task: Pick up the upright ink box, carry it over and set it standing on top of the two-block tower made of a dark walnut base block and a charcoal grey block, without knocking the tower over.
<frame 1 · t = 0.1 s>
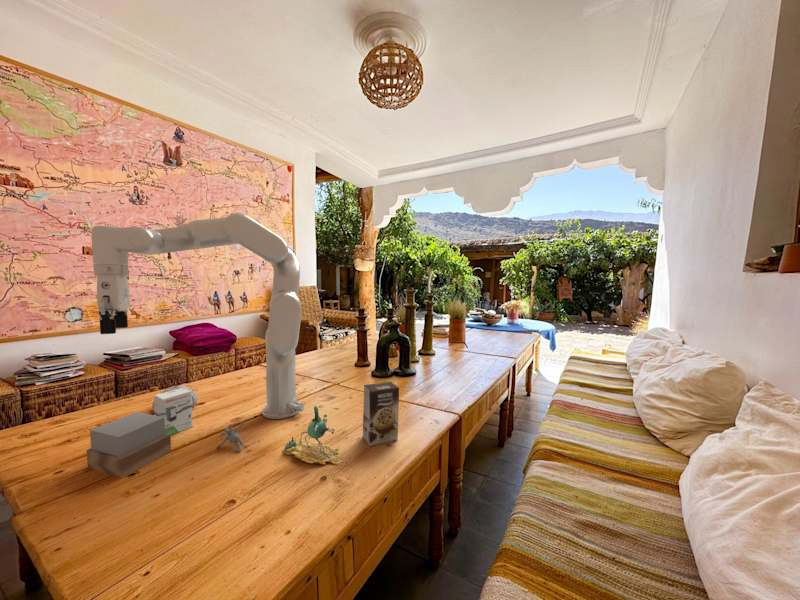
hand: (114, 330, 95), 31 cm above the table, fingers open, 9 cm apart
tower top: (129, 442, 85), point 5 cm above the table, touching tower bottom
coffee box: (380, 439, 98), on the table
elephant figurine: (235, 446, 93), on the table
tower bottom: (131, 460, 85), on the table, touching tower top
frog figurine: (313, 456, 89), on the table
ink box: (174, 431, 100), on the table
sea urchin shell: (176, 409, 116), on the table
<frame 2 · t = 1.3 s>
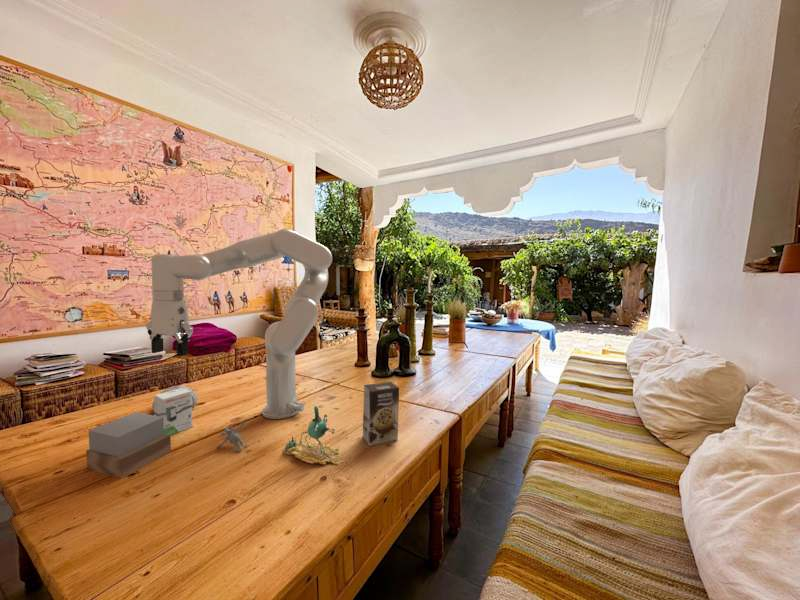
hand: (169, 353, 98), 24 cm above the table, fingers open, 9 cm apart
nothing on the table moved.
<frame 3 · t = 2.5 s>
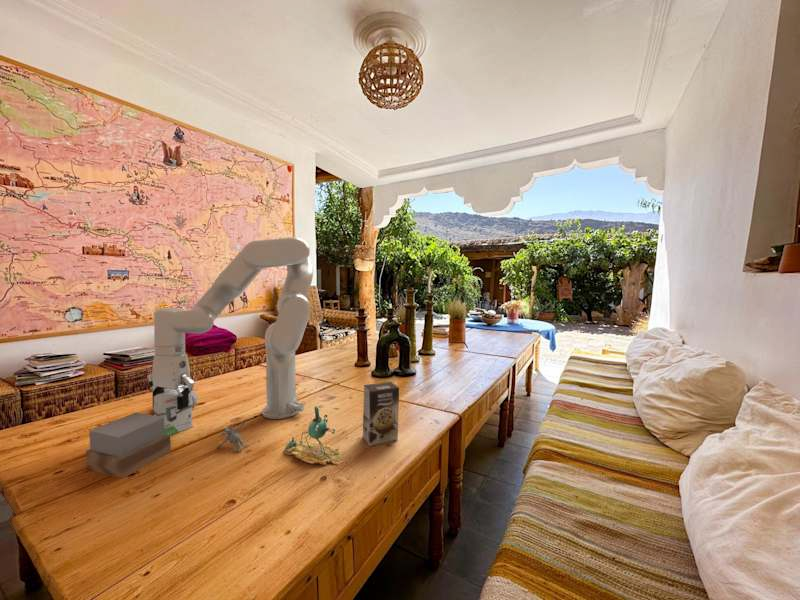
hand: (170, 405, 99), 8 cm above the table, fingers open, 9 cm apart
tower top: (129, 442, 85), point 5 cm above the table
tower bottom: (131, 461, 85), on the table
everything else where it was.
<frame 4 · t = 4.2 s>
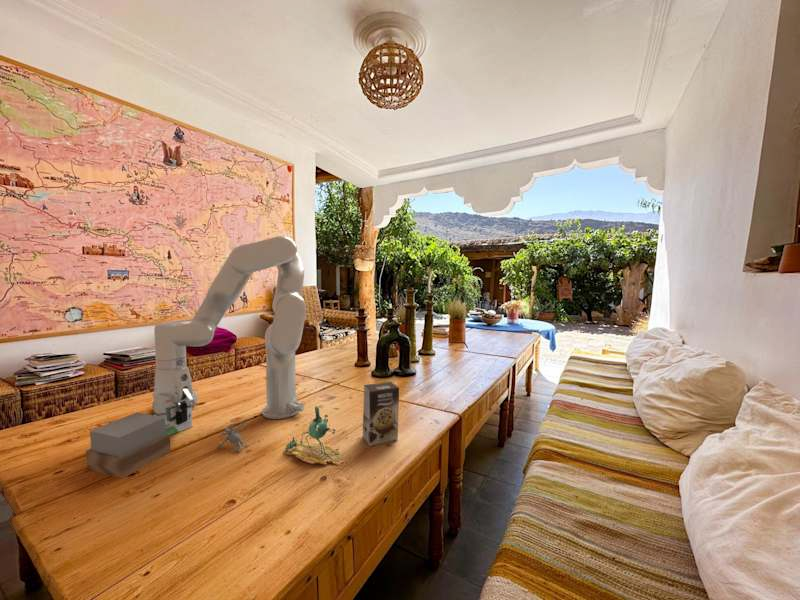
hand: (173, 420, 100), 3 cm above the table, fingers closed on ink box, 5 cm apart
tower top: (130, 442, 84), point 5 cm above the table, touching tower bottom
tower bottom: (131, 461, 85), on the table, touching tower top
ink box: (174, 430, 100), on the table, touching gripper
everything else where it was.
when the fingers open (14 cm above the table, at t = 10.4 s): ink box drops 2 cm, resting on tower top.
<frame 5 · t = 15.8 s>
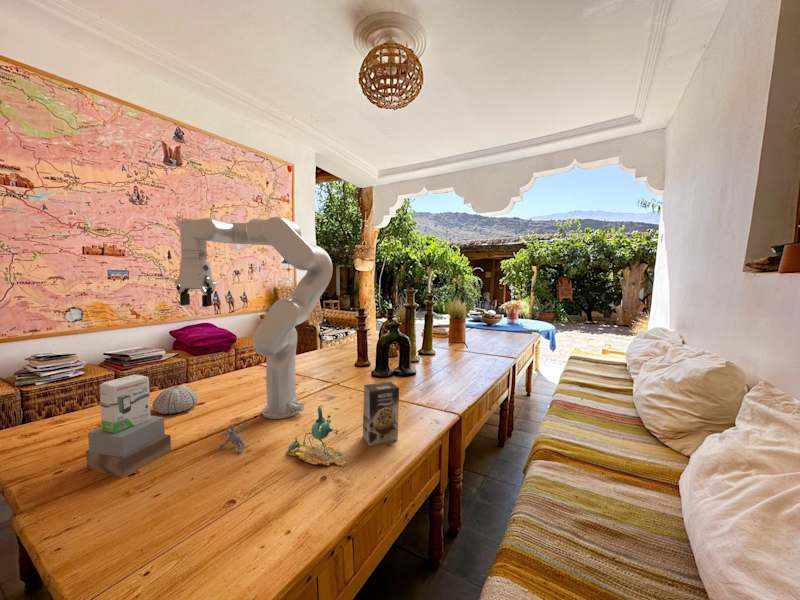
hand: (195, 305, 115), 36 cm above the table, fingers open, 9 cm apart
tower top: (128, 443, 84), point 5 cm above the table, touching ink box, tower bottom
ink box: (127, 425, 84), point 9 cm above the table, touching tower top
at the end: ink box inside the target area on the tower bottom (0.6 cm from its centre), point 9.8 cm above the tower bottom's base; tower top 0.4 cm off-centre on the tower bottom, point 5.0 cm above the tower bottom's base; ink box tilted 1° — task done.
